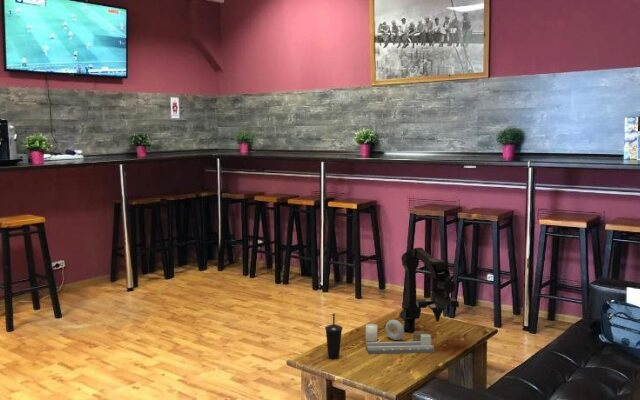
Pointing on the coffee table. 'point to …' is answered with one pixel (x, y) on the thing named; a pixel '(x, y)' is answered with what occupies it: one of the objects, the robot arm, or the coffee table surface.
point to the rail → (398, 347)
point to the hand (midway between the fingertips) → (437, 321)
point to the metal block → (418, 335)
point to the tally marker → (425, 339)
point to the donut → (398, 326)
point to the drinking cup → (333, 339)
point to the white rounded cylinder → (371, 332)
